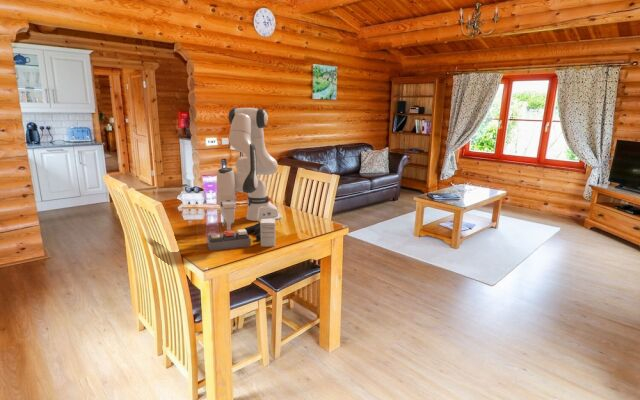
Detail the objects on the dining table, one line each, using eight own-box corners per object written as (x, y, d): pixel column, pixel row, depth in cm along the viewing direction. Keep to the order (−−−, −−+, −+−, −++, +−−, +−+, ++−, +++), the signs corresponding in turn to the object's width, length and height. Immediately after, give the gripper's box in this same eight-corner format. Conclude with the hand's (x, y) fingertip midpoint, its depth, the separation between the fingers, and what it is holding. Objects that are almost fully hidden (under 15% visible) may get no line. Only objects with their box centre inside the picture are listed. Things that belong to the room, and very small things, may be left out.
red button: (232, 233, 187) (232, 230, 187) (233, 235, 184) (233, 232, 183) (224, 233, 186) (224, 231, 186) (225, 236, 182) (225, 233, 182)
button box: (245, 238, 198) (245, 228, 196) (250, 246, 187) (250, 235, 186) (206, 242, 190) (206, 232, 189) (209, 250, 179) (209, 239, 178)
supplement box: (261, 241, 194) (261, 218, 191) (275, 241, 194) (275, 218, 191) (260, 246, 186) (260, 222, 184) (275, 246, 187) (275, 222, 184)
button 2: (245, 231, 190) (245, 229, 190) (246, 234, 186) (246, 231, 186) (237, 232, 188) (237, 229, 188) (238, 235, 185) (238, 232, 184)
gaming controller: (262, 245, 195) (275, 233, 200) (257, 237, 192) (270, 225, 197) (245, 237, 208) (259, 225, 212) (241, 229, 205) (254, 218, 209)
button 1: (219, 237, 185) (219, 234, 185) (220, 239, 182) (220, 236, 181) (211, 238, 184) (210, 235, 183) (212, 240, 180) (212, 237, 180)
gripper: (217, 196, 193) (218, 221, 196) (223, 205, 175) (224, 233, 178) (229, 195, 196) (230, 220, 199) (236, 204, 177) (237, 232, 181)
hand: (227, 227), depth 188 cm, fingers open, 8 cm apart
